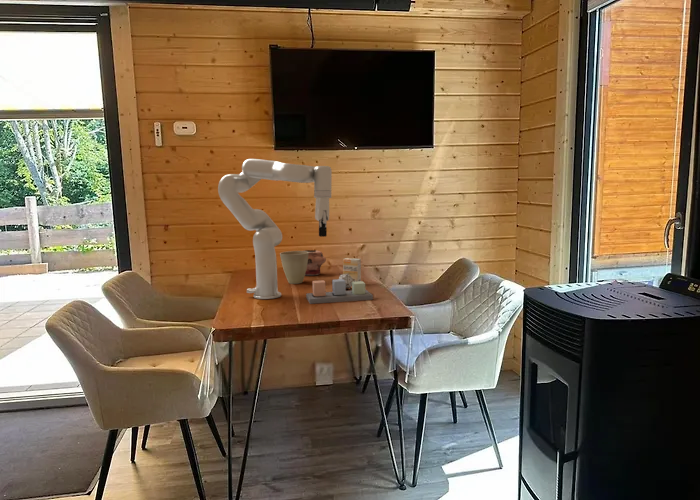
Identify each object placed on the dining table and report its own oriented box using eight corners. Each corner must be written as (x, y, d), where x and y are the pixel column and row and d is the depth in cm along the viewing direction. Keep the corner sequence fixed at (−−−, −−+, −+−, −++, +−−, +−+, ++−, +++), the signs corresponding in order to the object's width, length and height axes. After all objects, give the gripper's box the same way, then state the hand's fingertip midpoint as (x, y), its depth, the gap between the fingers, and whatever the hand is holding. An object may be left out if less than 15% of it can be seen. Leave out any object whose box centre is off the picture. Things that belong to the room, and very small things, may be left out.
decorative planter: (290, 277, 275) (289, 252, 273) (292, 273, 287) (291, 249, 285) (325, 276, 275) (325, 251, 273) (326, 272, 287) (326, 248, 285)
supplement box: (342, 284, 252) (342, 259, 250) (346, 282, 256) (346, 257, 255) (357, 285, 249) (357, 259, 247) (361, 283, 253) (360, 258, 252)
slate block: (334, 295, 217) (334, 281, 216) (332, 292, 222) (332, 279, 221) (345, 294, 218) (345, 281, 217) (343, 292, 223) (343, 279, 222)
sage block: (354, 297, 219) (354, 283, 218) (352, 294, 224) (351, 281, 223) (365, 296, 220) (365, 283, 219) (362, 294, 225) (362, 281, 224)
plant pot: (305, 279, 268) (305, 250, 266) (312, 284, 254) (311, 253, 252) (278, 281, 263) (277, 251, 261) (283, 286, 249) (282, 255, 247)
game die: (348, 297, 239) (352, 283, 232) (332, 290, 240) (335, 276, 233) (354, 285, 245) (358, 271, 239) (339, 279, 247) (342, 265, 240)
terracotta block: (314, 296, 215) (314, 283, 214) (312, 294, 220) (312, 280, 219) (325, 295, 216) (325, 282, 215) (323, 293, 221) (323, 280, 220)
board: (309, 303, 211) (309, 299, 211) (306, 297, 223) (306, 293, 223) (372, 299, 217) (372, 295, 217) (366, 293, 229) (366, 289, 228)
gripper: (311, 194, 221) (311, 234, 223) (317, 195, 206) (316, 238, 209) (328, 194, 222) (327, 234, 225) (334, 195, 208) (334, 238, 211)
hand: (322, 236), depth 217 cm, fingers closed
